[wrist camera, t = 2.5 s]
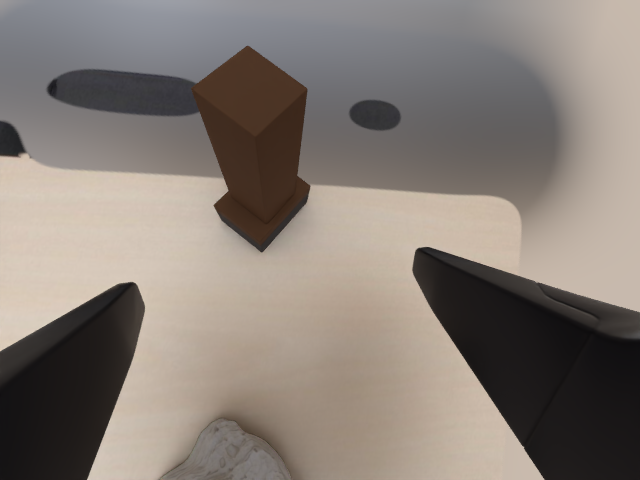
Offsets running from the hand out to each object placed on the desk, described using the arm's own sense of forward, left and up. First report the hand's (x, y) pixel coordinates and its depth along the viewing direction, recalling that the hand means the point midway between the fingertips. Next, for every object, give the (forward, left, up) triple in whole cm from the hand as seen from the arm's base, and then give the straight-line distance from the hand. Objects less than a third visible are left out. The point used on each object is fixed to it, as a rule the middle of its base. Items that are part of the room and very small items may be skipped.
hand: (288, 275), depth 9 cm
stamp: (+5, +6, -13) cm, 16 cm away
